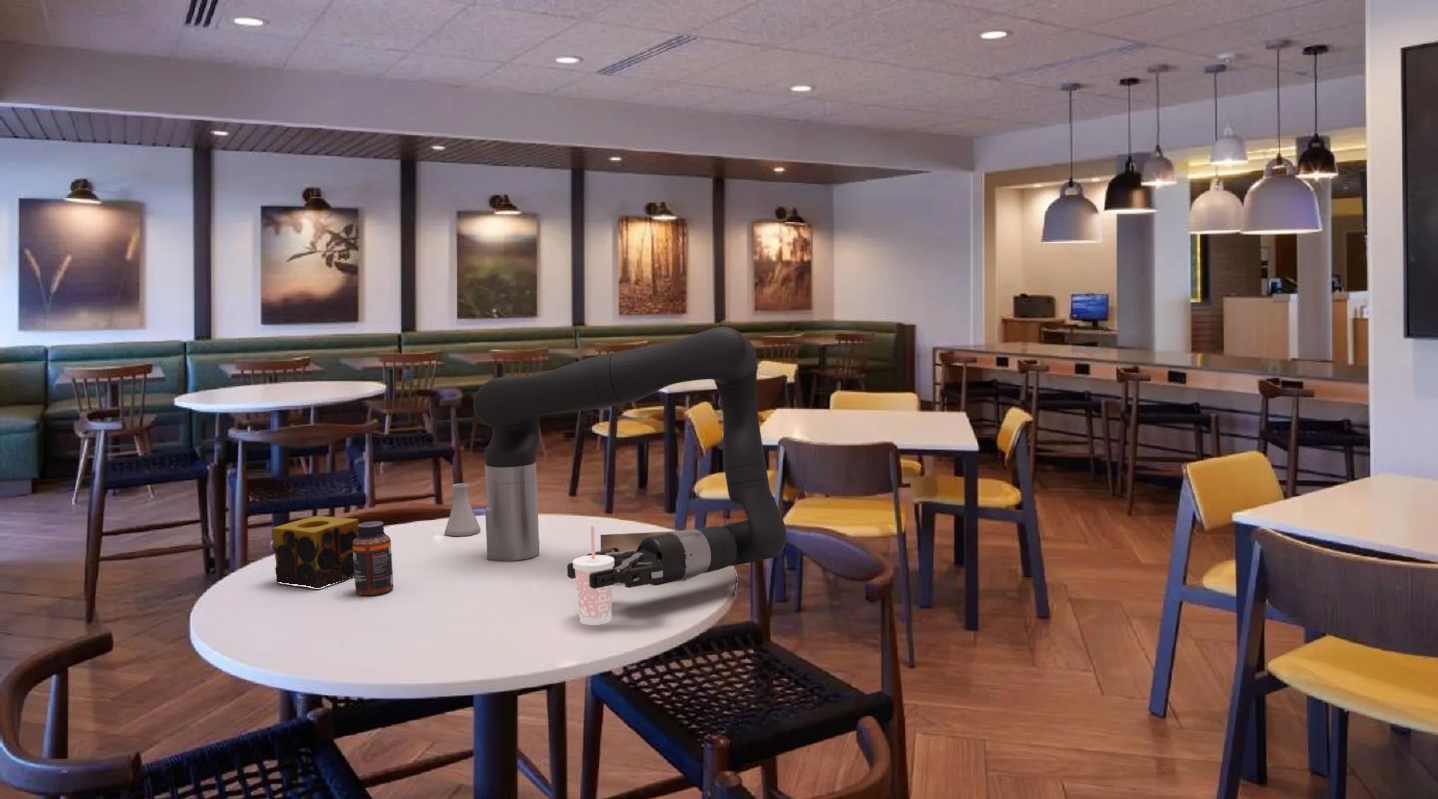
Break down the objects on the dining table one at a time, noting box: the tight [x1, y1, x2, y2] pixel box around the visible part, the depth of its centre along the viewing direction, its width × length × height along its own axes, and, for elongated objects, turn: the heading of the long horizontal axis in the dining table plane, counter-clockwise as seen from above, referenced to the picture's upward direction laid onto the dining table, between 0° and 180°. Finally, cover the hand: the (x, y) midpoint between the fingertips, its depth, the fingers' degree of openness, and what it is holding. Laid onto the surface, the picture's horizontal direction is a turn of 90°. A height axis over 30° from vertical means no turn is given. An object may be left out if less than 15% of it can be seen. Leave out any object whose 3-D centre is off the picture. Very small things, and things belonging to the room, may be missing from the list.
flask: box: [443, 482, 481, 537], centre depth 202 cm, size 7×7×10 cm
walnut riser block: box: [599, 530, 687, 585], centre depth 171 cm, size 14×14×5 cm
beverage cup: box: [572, 525, 614, 626], centre depth 145 cm, size 6×6×14 cm
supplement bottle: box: [353, 520, 394, 596], centre depth 162 cm, size 6×6×11 cm
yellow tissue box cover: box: [271, 515, 360, 588], centre depth 170 cm, size 10×10×10 cm
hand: (579, 576), depth 144 cm, fingers closed on beverage cup, 6 cm apart
